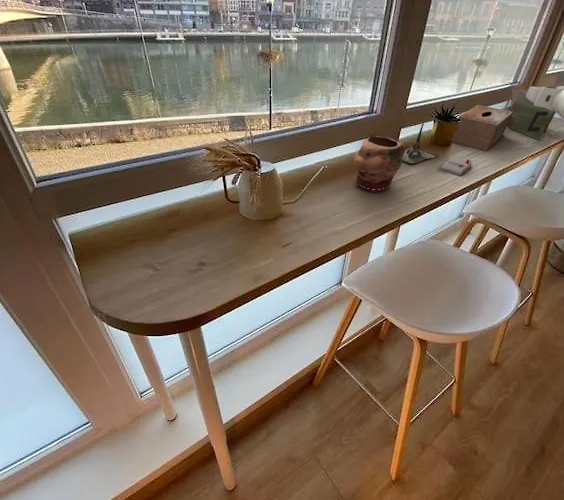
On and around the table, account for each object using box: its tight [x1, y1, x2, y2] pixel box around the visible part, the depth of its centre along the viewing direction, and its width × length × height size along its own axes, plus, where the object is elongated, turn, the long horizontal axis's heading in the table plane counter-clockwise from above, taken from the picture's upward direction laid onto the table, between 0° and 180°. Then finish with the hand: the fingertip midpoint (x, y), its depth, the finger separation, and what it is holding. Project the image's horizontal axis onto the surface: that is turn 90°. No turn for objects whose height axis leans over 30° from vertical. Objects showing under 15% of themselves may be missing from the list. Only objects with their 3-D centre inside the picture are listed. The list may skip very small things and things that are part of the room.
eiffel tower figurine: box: [402, 122, 436, 164], centre depth 118 cm, size 15×10×13 cm
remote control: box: [440, 157, 473, 176], centre depth 114 cm, size 7×16×3 cm, turn 136°
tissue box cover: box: [451, 104, 513, 152], centre depth 137 cm, size 26×14×10 cm, turn 138°
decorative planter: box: [353, 135, 406, 193], centre depth 99 cm, size 20×12×14 cm, turn 128°
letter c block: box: [509, 96, 554, 140], centre depth 142 cm, size 6×15×14 cm, turn 19°
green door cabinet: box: [507, 89, 557, 133], centre depth 151 cm, size 11×15×15 cm
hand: (552, 91), depth 127 cm, fingers open, 8 cm apart
